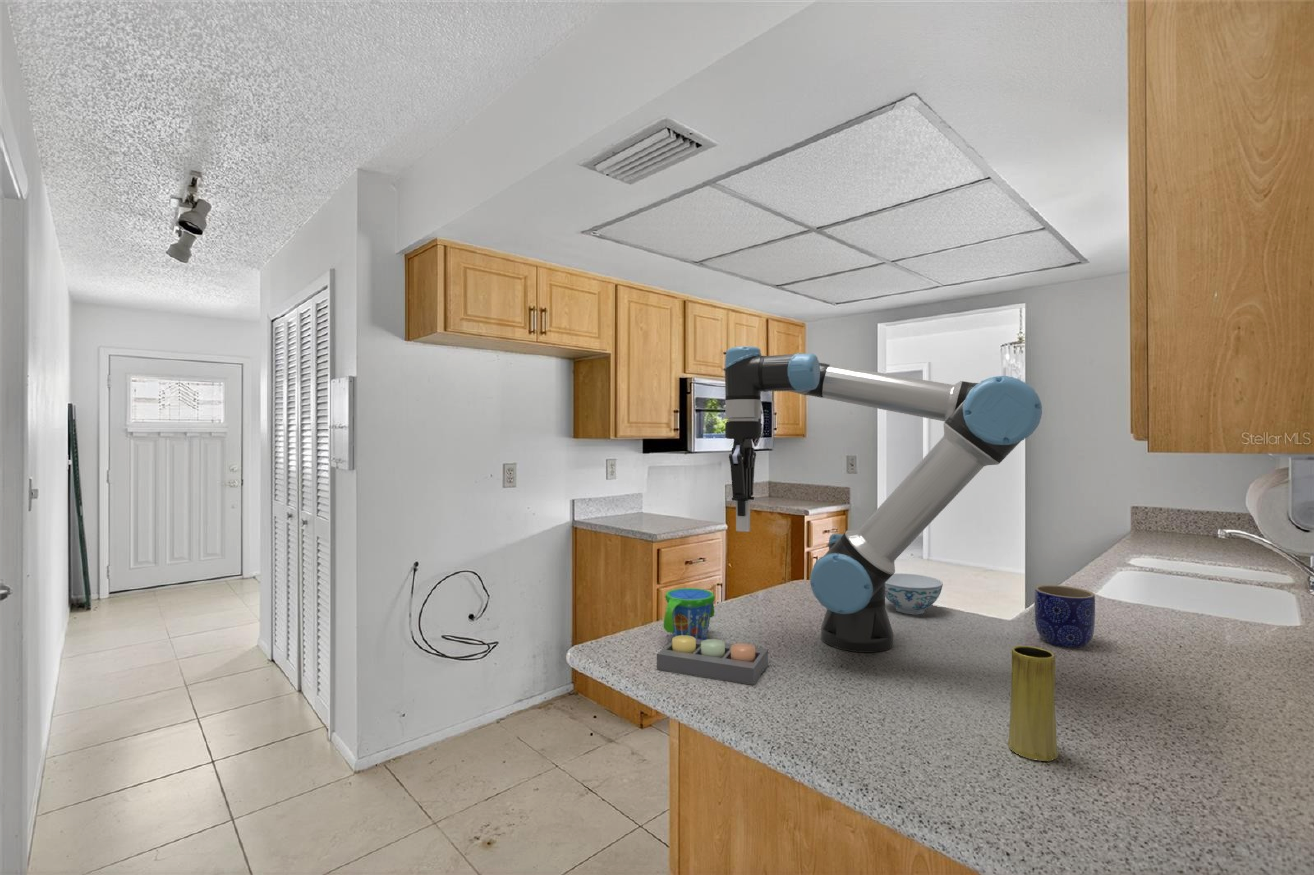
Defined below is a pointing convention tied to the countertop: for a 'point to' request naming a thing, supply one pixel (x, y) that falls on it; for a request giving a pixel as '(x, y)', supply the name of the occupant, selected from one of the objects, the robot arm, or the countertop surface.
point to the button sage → (713, 648)
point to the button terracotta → (743, 652)
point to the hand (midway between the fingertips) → (743, 530)
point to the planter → (1064, 615)
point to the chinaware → (912, 592)
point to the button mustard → (684, 644)
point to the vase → (1033, 703)
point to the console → (713, 664)
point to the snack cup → (689, 612)
